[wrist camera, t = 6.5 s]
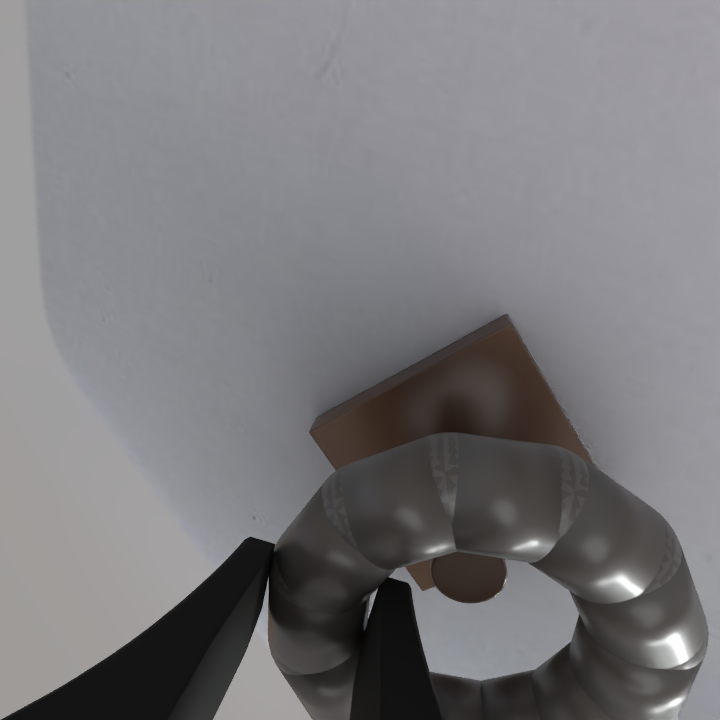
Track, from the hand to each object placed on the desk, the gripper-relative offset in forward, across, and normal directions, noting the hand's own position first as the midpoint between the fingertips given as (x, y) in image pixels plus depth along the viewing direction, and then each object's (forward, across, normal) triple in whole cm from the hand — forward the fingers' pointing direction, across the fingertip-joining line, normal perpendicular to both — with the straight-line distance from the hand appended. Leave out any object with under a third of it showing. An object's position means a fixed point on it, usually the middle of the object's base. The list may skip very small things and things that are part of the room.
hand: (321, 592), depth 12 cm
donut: (0, -4, 0) cm, 4 cm away
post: (+8, -4, 0) cm, 9 cm away
